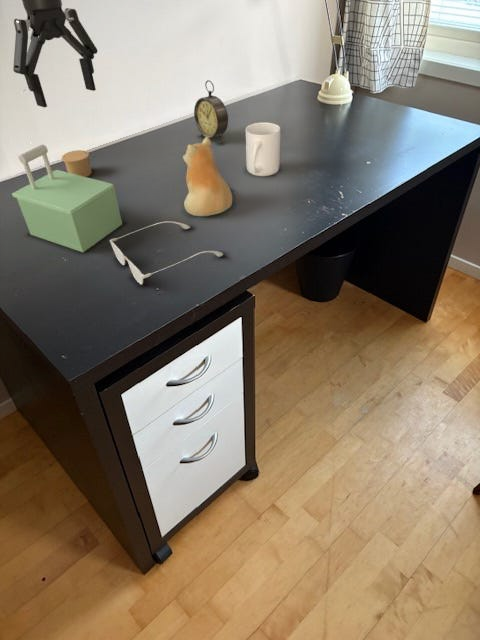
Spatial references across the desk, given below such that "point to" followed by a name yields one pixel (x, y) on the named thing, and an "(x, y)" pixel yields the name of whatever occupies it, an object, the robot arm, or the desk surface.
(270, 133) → the mug
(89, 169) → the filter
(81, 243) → the green rectangular box
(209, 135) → the alarm clock
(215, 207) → the figurine
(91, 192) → the green box lid
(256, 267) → the desk surface
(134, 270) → the eyeglasses
